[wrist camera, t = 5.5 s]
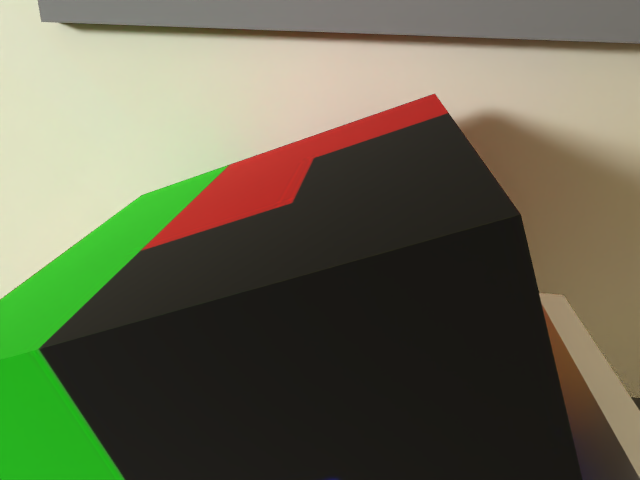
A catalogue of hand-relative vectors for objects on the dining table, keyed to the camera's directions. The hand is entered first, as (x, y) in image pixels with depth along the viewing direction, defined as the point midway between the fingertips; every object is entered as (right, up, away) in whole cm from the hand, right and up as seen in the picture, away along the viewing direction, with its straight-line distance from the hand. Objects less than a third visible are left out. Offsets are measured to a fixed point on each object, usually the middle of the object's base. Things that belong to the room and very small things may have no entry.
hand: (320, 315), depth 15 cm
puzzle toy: (0, +1, +3) cm, 3 cm away
